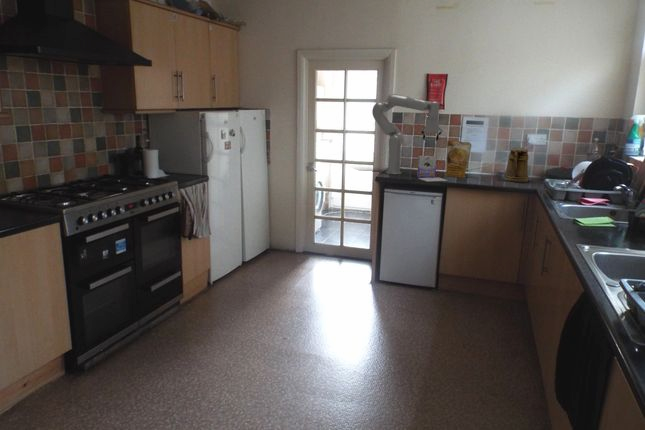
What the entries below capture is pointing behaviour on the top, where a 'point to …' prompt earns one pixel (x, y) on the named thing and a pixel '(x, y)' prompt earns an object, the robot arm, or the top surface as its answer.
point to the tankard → (517, 166)
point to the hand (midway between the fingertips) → (430, 140)
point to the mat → (432, 179)
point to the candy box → (426, 166)
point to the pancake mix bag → (457, 158)
